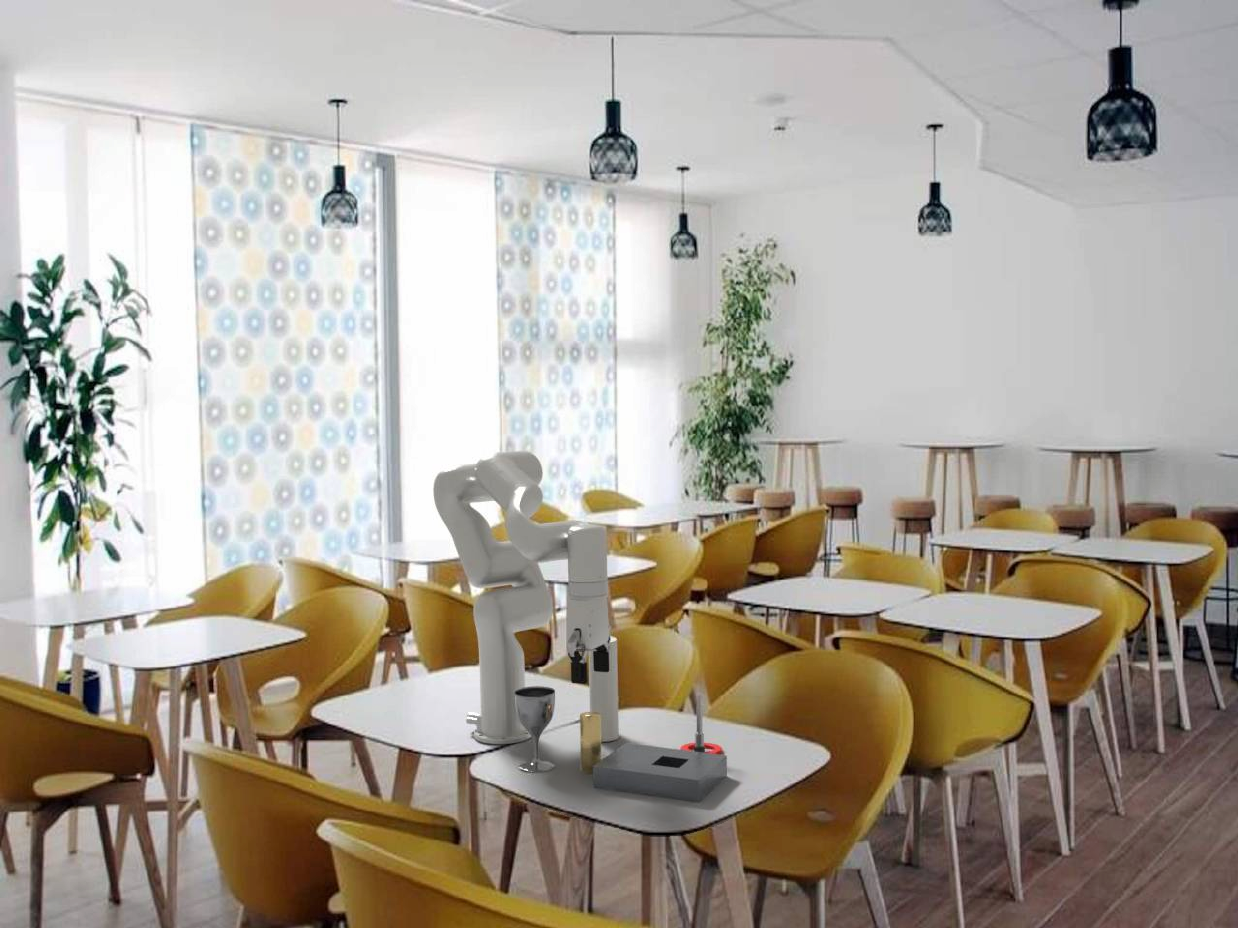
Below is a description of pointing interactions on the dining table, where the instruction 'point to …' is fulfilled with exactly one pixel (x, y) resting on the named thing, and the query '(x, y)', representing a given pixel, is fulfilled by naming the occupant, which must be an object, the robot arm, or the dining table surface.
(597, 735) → the brass pin
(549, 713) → the wine glass
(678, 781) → the grey block with hole
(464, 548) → the robot arm
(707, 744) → the tow hook
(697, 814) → the dining table surface
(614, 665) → the paper towel roll
